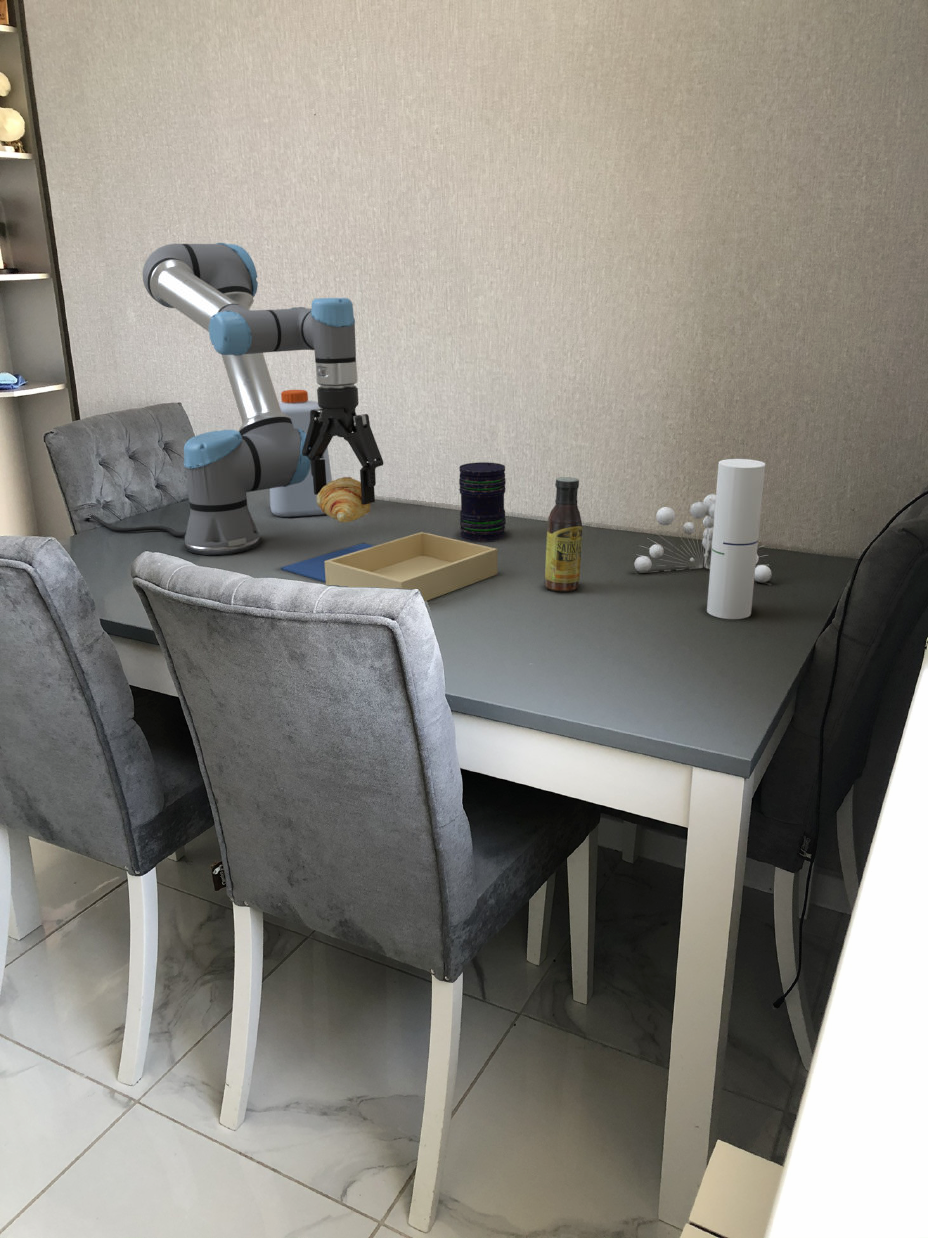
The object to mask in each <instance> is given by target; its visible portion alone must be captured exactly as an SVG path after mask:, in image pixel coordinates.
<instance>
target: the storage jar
mask: <svg viewBox="0 0 928 1238" xmlns="http://www.w3.org/2000/svg"><path fill="white" fill-rule="evenodd" d="M458 469H459V479H458V484H459V489H458V490H459V494H460V511H459V517H460V518H459V527H460V531H461V532H460V538H461V539H462V540H465V541H470V542H477V543H479V542H480V543H483V542H484V543H485V542H486V543H487V542H494V541H500V540H502V539H504V538H505V537H506V532H505V530H506V522H507V521H506V519H507V517H506V510H505V493H506V483H507V481H506V480H507V478H506V465H505V464H502V463H497V462H487V461H485V462H484V461H483V462H479V461H478V462H469V463H464V464H461V465H460V466H459V468H458Z"/></svg>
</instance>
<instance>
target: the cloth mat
mask: <svg viewBox="0 0 928 1238" xmlns="http://www.w3.org/2000/svg"><path fill="white" fill-rule="evenodd" d="M373 546H375V545H373V544H369V543H365V542H362V543H359V544H356V545H352V546H349V547H346V548H342V549H339V550H335V551H332V552H329V553H325V554H321V555H318V556H315V557H311V558H309V559H305V560H301V561H298V562H295V563H291V564H288V565H283V566H281V567H280V570H282V571H285V572H289V573H293V574H296V575H299V576H303V577H306V578H309V579H313V580H316V581H320V582H323V583H326V576H325V561H327V560H330V559H333V558H337V557H340V556H343V555H347V554H350V553H353V552H357V551H360V550H363V549H367V548H370V547H373Z"/></svg>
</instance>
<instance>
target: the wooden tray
mask: <svg viewBox="0 0 928 1238" xmlns="http://www.w3.org/2000/svg"><path fill="white" fill-rule="evenodd" d="M497 575H498V548H496V547H495V548H494V547H490V546H486V545H481V544H476V543H473V542H468V541H464V540H459V539H454V538H450V537H446V536H442V535H437V534H432V533H428V532H423V531H420V532H417V533H412V534H411V535H407V536H403V537H400V538H396V539H394V540H390V541H387V542H383V543H380V544H376V545H374V546H373V547H370V548H367V549H363V550H360V551H357V552H353V553H350V554H347V555H343V556H340V557H337V558H333V559H330V560H327V561H325V576H326V582H325V586H326V585H339V586H348V587H379V588H401V589H419V590H420V592H421V594H422V596H423V598H424V601H425V602H427V601H430V600H432V599H435V598H438V597H441V596H443V595H445V594H446V595H447V594H449V593H452V592H454V591H456V590H459V589H463V588H465V587H467V586H470V585H472V584H475V583H477V582H480V581H483V580H486V579H488V578H489V579H490V578H492V577H494V576H497Z"/></svg>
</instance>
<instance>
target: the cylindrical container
mask: <svg viewBox="0 0 928 1238" xmlns="http://www.w3.org/2000/svg"><path fill="white" fill-rule="evenodd" d="M765 472H766V463H765V462H763V461H760V460H755V459H749V458H728V459H722V460H719V461H718V466H717V477H716V490H715V495H716V502H715V514H714V526H713V527H712V528H713V539H712V550H711V551H710V552H711V553H710V557H711V558H710V560H711V561H710V562H711V563H710V564H709V565H710V567H709V576H708V578H709V579H708V590H707V592H708V593H707V605H706V613H708V614H709V615H710V616H713V617H716V618H720V619H724V620H725V619H726V620H742V619H747V618H749V617H750V616H751V614H752V609H753V608H752V607H753V597H754V586H755V581H754V580H755V579H754V577H755V568H756V567H757V566H756V564H757V563H756V556H757V555H758V544H759V538H758V537H759V535H760V534H759V533H760V525H761V524H760V523H761V515H762V514H761V512H762V505H763V504H762V503H763V493H764V492H763V491H764V485H765V483H764V482H765Z"/></svg>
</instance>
